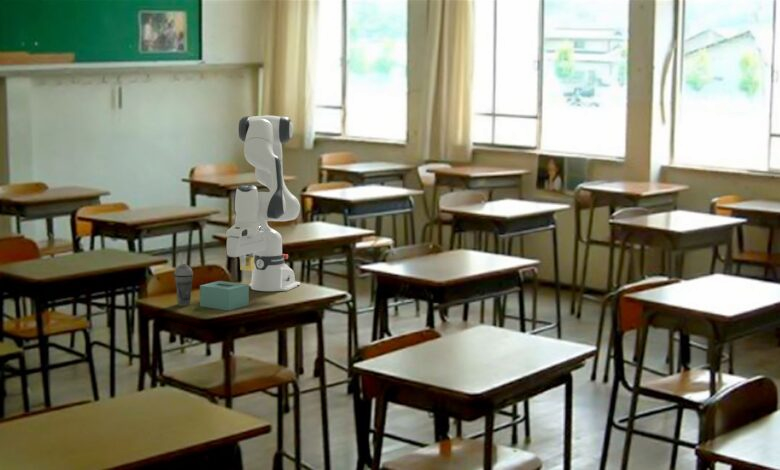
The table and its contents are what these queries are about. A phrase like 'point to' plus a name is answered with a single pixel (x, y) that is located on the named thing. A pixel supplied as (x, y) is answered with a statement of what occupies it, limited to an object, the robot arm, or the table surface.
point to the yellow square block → (250, 264)
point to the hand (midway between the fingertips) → (247, 265)
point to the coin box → (224, 295)
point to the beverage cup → (183, 283)
